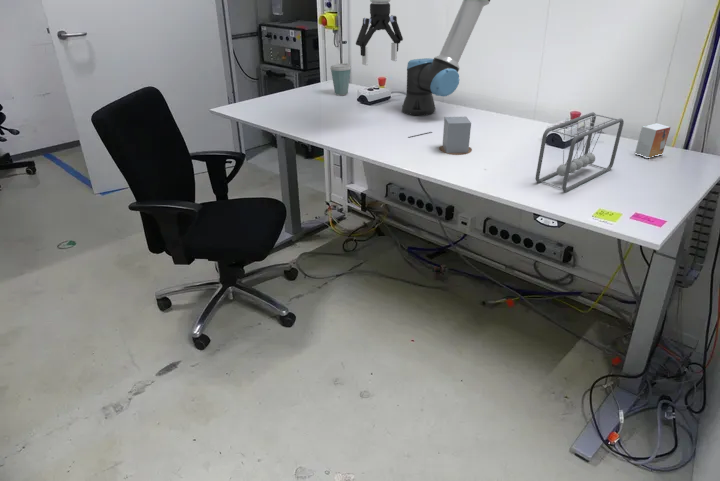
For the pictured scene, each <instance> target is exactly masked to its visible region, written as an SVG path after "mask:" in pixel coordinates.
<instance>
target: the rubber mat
mask: <svg viewBox="0 0 720 481" xmlns="http://www.w3.org/2000/svg"><path fill="white" fill-rule="evenodd" d="M432 133H433V132H432V131H428V132H424V133H420V134H419V133H418V134H414V135H410V136H408V137H407V138H409V139H410V138H411V139H412V138H415V137H419V136H423V135H428V134H432Z"/></svg>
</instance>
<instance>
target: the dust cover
mask: <svg viewBox="0 0 720 481" xmlns="http://www.w3.org/2000/svg"><path fill="white" fill-rule="evenodd" d="M471 129H472V121H471V120H470V119H469V118H468V117H467V116H444V119H443V133H442V145H441V146H443V148H444V150H445V151H446V153H468V150H469V147H470V138H471ZM446 153H445V154H446ZM468 154H469V153H468Z"/></svg>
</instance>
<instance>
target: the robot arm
mask: <svg viewBox="0 0 720 481" xmlns="http://www.w3.org/2000/svg"><path fill="white" fill-rule="evenodd" d="M369 2H370V4H369V14H370V16H369V18H367V17H364V18H362V24H361V28H360V29H359V30H360V31H359V32H358V36H357V38H356V41H355V45H356V46H359V47H360V56H361V59H362V62H361V64H362V65H364V66H368V64H369V61H368V60H369V59H368V58H369V57H368V56H369V54H368V53H369V51H368V50H369V49H368V48H369V47H368V46H367V45H368V43H369V42H370V40H371V39H372V37H373V35H374V34H375V32H377V31H381V30H382V31H385V32H386V33H387V35H388V36H389V37H390V39H391V40H392V42H391V44H390V46H391V49H390V60H391V61H393V62H397V58H398V56H397V55H398V52H399V44H400V43H401V42H403V40H404V38H403V35H402V33H401V30H400V26H399V24H398V21H397V20H398V18H397V15H393V14H391V4H390V2H391V0H369ZM490 2H491V0H462V3H461V5H460V7H459V10H458V12H457V14H456V16H455V18H454V21H453V23H452V25H451V28H450V30H449V32H448V34H447V37H446V39H445V42H444V44H443V46H442V48H441V51H440V53H439V54H438V55H437V56H435V57H433V58H430V57H429V58H417V59H410V60H409V61H408V62H407V65H406V94H405V97H404V101H403V103H402V106H401V112H402V113H403V114H406V115H410V116H419V117H420V116H429V115H432V114H435V112H436V105H435V101H434V96H433V95H435V96H438V97H439V96H440V97H449V95H452V94H453V93H454V92H456V90H457V88H458V86H459V85H460V73H459V71H460V66H459V61H460V59H461V57H462V55H463V53H464V51H465V49H466V46H467V45H468V42H469V40H470V37H471V35H472V33H473V31H474V29H475V26H476V24H477V21H478V20H479V17H480V16H481V13H482V11H483V8H484V7H485V6H488V5H490ZM390 14H391V15H390ZM389 23H390V24H391V26H390V24H389Z"/></svg>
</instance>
